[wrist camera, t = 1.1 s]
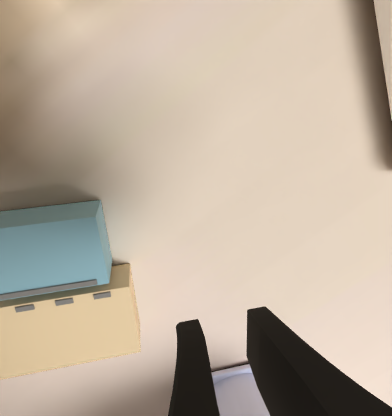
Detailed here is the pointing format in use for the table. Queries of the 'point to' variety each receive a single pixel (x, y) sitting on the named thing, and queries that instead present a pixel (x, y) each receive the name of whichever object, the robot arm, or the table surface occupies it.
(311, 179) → the table surface
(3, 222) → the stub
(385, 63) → the bracket
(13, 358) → the cream usb hub
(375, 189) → the table surface
